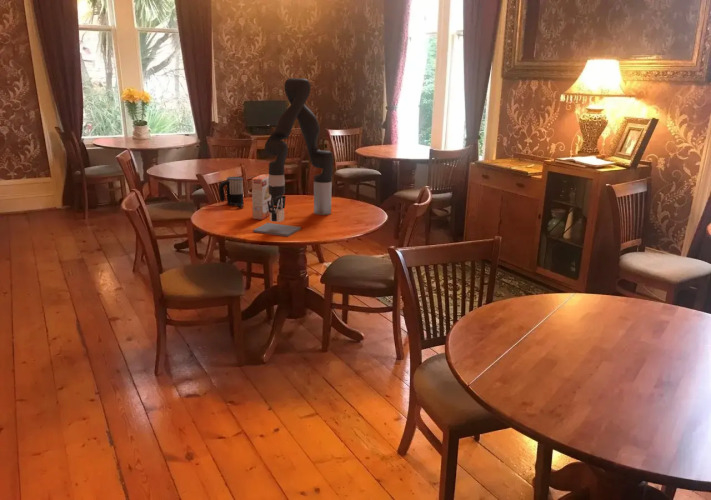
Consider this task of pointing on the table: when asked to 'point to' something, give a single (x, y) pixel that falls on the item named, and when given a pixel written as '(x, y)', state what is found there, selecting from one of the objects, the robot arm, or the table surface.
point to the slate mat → (277, 229)
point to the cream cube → (278, 215)
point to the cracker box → (260, 197)
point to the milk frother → (232, 191)
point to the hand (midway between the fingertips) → (277, 219)
